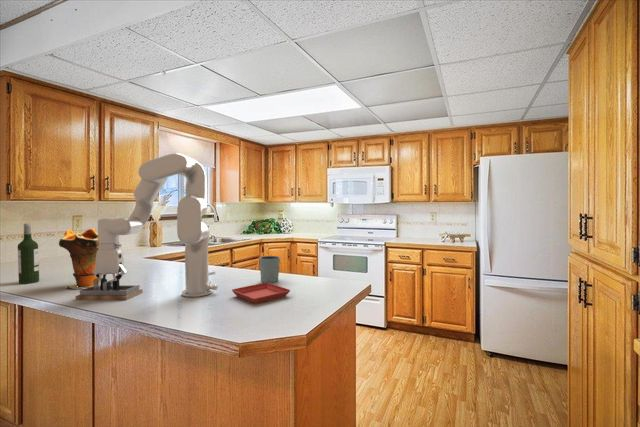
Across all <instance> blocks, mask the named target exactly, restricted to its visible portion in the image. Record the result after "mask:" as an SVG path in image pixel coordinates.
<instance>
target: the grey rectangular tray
mask: <svg viewBox="0 0 640 427" xmlns="http://www.w3.org/2000/svg"><path fill="white" fill-rule="evenodd" d="M113 281H114V278H113V279H110V280H107V282H104V283H103V290H101V287H100V290H93V286H92V287H89V288H86V289H79V295H102V296H127V295H129V294H131V293H134V292H136V291H138V290H139V289H140V285H135V284H134V285H130V284H129V285H123V284H122V285H121V284H119V289H117V290H113Z"/></svg>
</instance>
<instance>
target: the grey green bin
mask: <svg viewBox="0 0 640 427" xmlns="http://www.w3.org/2000/svg"><path fill="white" fill-rule="evenodd" d="M280 259H281V257H280V256H277V255H264V256H260V257H259V269H260V272H259V273H260V282H261V283H270V284H273V283H277V282H278V281H279V274H280V272H279V271H280V263H281V260H280Z"/></svg>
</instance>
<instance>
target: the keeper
mask: <svg viewBox="0 0 640 427" xmlns="http://www.w3.org/2000/svg"><path fill="white" fill-rule="evenodd" d="M93 290H100V281H99V279H98V278H95V279H94V280H93ZM143 292H144V291H143V289H140V288H139V290H138V291H136V292H134V293H131V294H129V295H127V296H102V295H80V294H77V295H75V300H76V301H77V300H80V301H81V300H82V301H87V300H88V301H89V300H90V301H91V300H92V301H95V300H97V301H98V300H99V301H115V300H116V301H128V300H130V299H132V298H134V296H135V297H137V296H139V295H140V294H143Z"/></svg>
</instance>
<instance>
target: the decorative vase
mask: <svg viewBox="0 0 640 427" xmlns="http://www.w3.org/2000/svg"><path fill="white" fill-rule="evenodd" d="M58 246H59V247H60V248H62V249H64V250H66V251H68V252H69V257H70V258H71V265H72V270H73V273H72V275H73V277H74V279H75V283H72V284H69V285H66V286H65V287H64V288H65V289H72V290H83V289H86V288H89V287H92V286H93V280H94V279H95V278H97V277H96V275H94V274H93V273H92V272H93V271H94V269H95V263H96V254H97V251H98V232H97V231H96V229H95V228H94V227H93V228H88V229H86V230H85V231H84V232H81V233H80V232H79V233H78V232H76V233H75V232H74V231H73V230H71V229H67V230H66V231H65V233H64V235H63V236H62V238H60V239H59V241H58ZM77 286H78V287H77Z"/></svg>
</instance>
